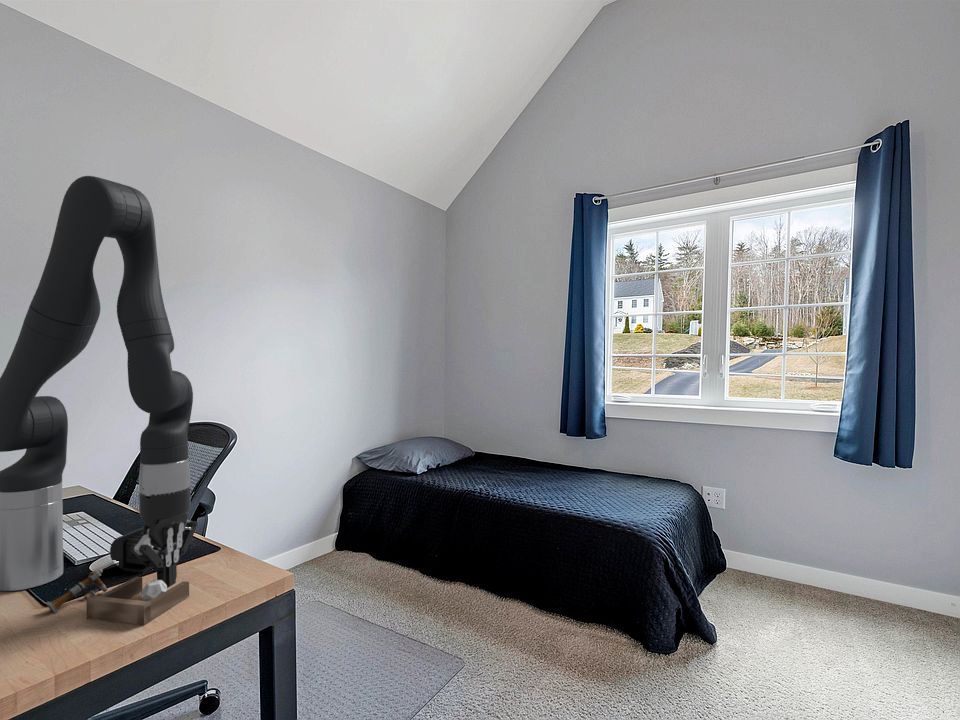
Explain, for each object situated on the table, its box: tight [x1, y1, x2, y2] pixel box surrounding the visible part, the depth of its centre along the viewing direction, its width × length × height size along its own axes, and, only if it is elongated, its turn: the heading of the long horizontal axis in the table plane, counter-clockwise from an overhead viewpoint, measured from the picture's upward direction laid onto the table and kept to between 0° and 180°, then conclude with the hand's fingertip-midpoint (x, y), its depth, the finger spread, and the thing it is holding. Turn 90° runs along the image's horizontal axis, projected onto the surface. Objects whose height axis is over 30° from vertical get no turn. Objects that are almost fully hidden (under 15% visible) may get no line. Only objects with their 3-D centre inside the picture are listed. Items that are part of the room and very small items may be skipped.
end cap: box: [109, 526, 162, 573], centre depth 100 cm, size 10×7×7 cm
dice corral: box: [85, 576, 190, 626], centre depth 83 cm, size 10×9×3 cm
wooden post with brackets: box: [45, 568, 108, 614], centre depth 84 cm, size 2×8×4 cm, turn 150°
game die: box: [141, 579, 168, 602], centre depth 85 cm, size 4×4×3 cm
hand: (166, 585), depth 88 cm, fingers closed
